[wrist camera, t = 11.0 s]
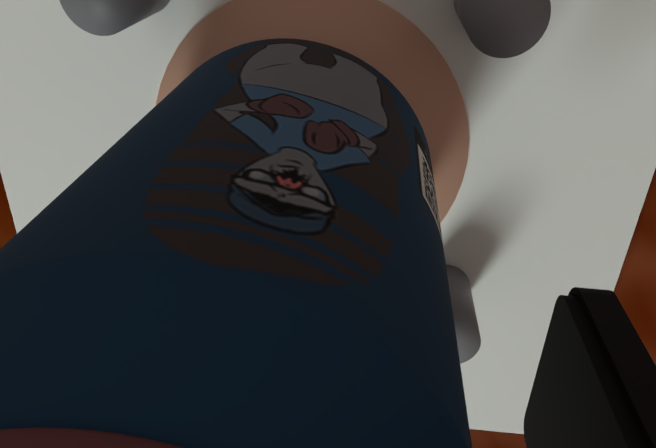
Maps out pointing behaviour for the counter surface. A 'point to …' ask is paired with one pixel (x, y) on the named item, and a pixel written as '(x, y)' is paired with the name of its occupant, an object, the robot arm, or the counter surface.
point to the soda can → (241, 273)
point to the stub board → (432, 112)
